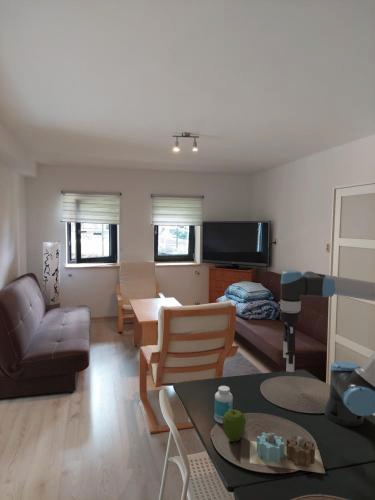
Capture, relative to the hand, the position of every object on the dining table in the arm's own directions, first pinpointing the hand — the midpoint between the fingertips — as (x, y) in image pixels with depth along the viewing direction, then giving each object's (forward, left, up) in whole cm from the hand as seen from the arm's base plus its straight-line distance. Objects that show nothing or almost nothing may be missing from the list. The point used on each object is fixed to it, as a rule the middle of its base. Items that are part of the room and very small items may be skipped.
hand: (288, 364), depth 135 cm
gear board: (+2, +19, -27) cm, 33 cm away
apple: (+20, +11, -27) cm, 35 cm away
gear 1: (+7, +18, -25) cm, 32 cm away
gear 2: (-3, +19, -25) cm, 31 cm away
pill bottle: (+25, -2, -27) cm, 37 cm away
